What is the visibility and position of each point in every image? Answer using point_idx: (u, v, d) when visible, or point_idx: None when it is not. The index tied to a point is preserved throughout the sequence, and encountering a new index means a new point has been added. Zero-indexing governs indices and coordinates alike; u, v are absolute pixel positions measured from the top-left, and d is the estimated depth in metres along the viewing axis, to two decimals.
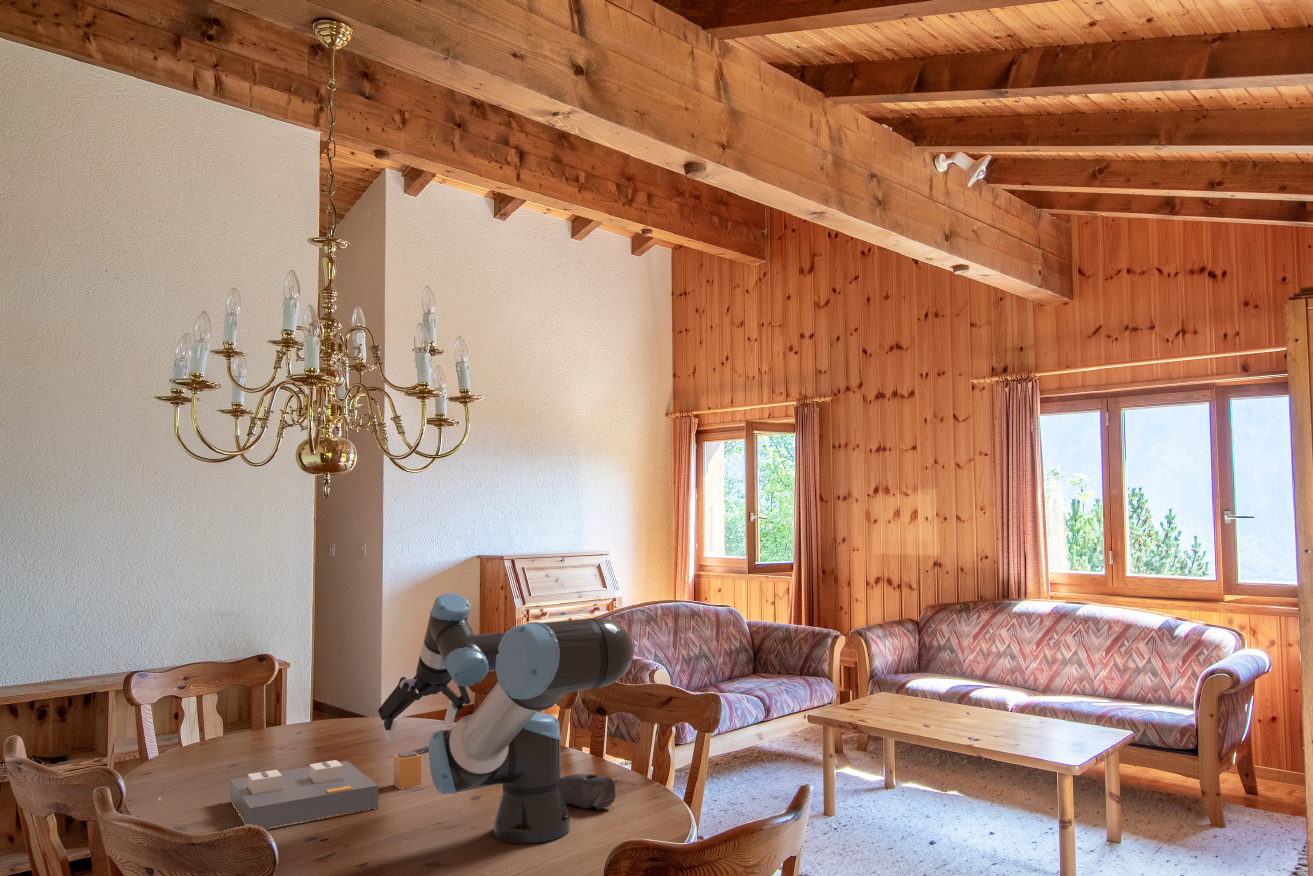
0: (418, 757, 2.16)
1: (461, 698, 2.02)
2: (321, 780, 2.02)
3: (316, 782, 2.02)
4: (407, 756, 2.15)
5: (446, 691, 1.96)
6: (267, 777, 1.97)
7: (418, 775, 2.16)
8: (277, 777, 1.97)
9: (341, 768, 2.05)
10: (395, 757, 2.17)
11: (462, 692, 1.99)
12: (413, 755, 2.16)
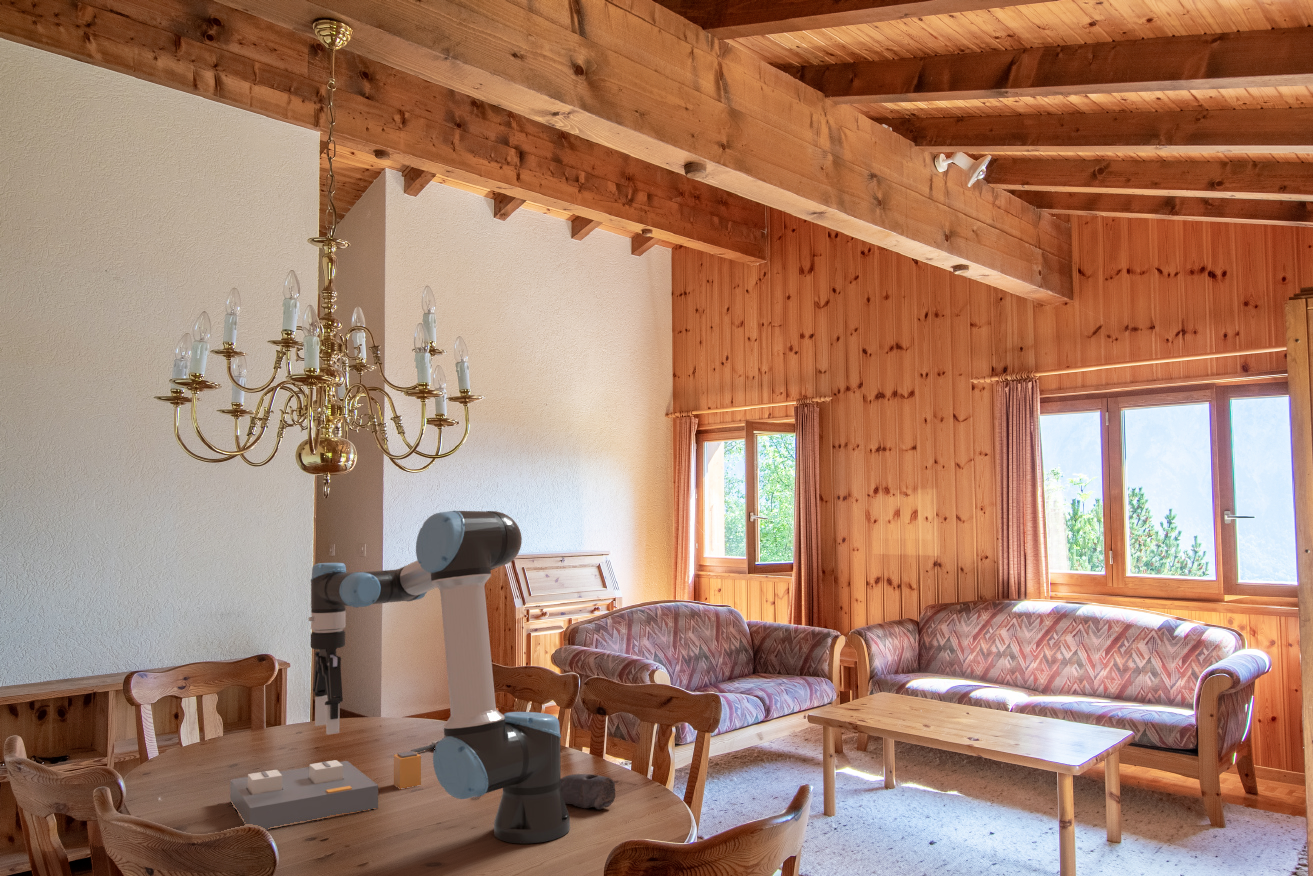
0: (418, 757, 2.16)
1: None
2: (321, 780, 2.02)
3: (316, 782, 2.02)
4: (407, 756, 2.15)
5: None
6: (267, 777, 1.97)
7: (418, 775, 2.16)
8: (277, 777, 1.97)
9: (341, 768, 2.05)
10: (395, 757, 2.17)
11: None
12: (413, 755, 2.16)
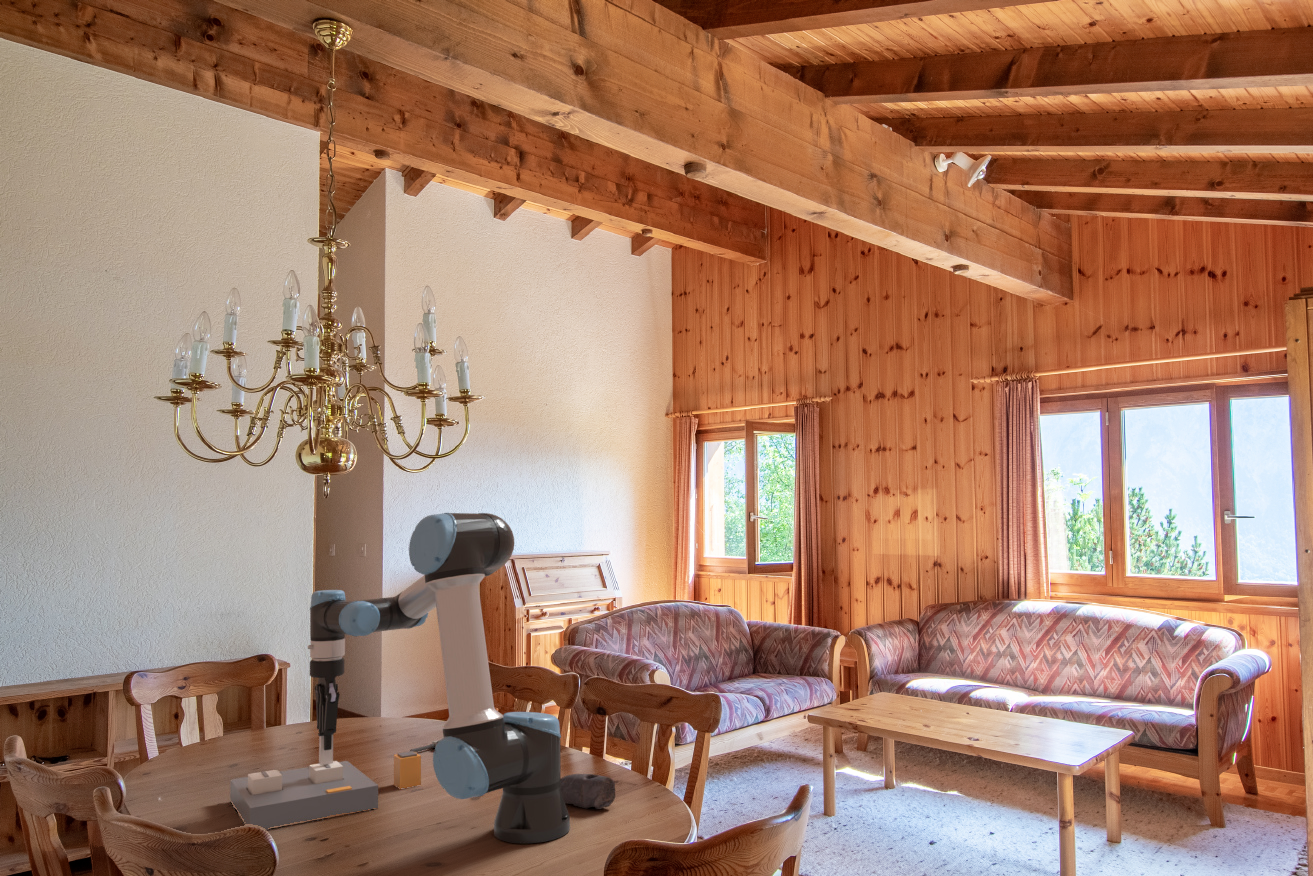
0: (418, 757, 2.16)
1: None
2: (321, 781, 2.02)
3: (316, 783, 2.02)
4: (407, 756, 2.15)
5: None
6: (267, 777, 1.97)
7: (418, 775, 2.16)
8: (277, 777, 1.97)
9: (341, 769, 2.05)
10: (395, 757, 2.17)
11: None
12: (413, 755, 2.16)
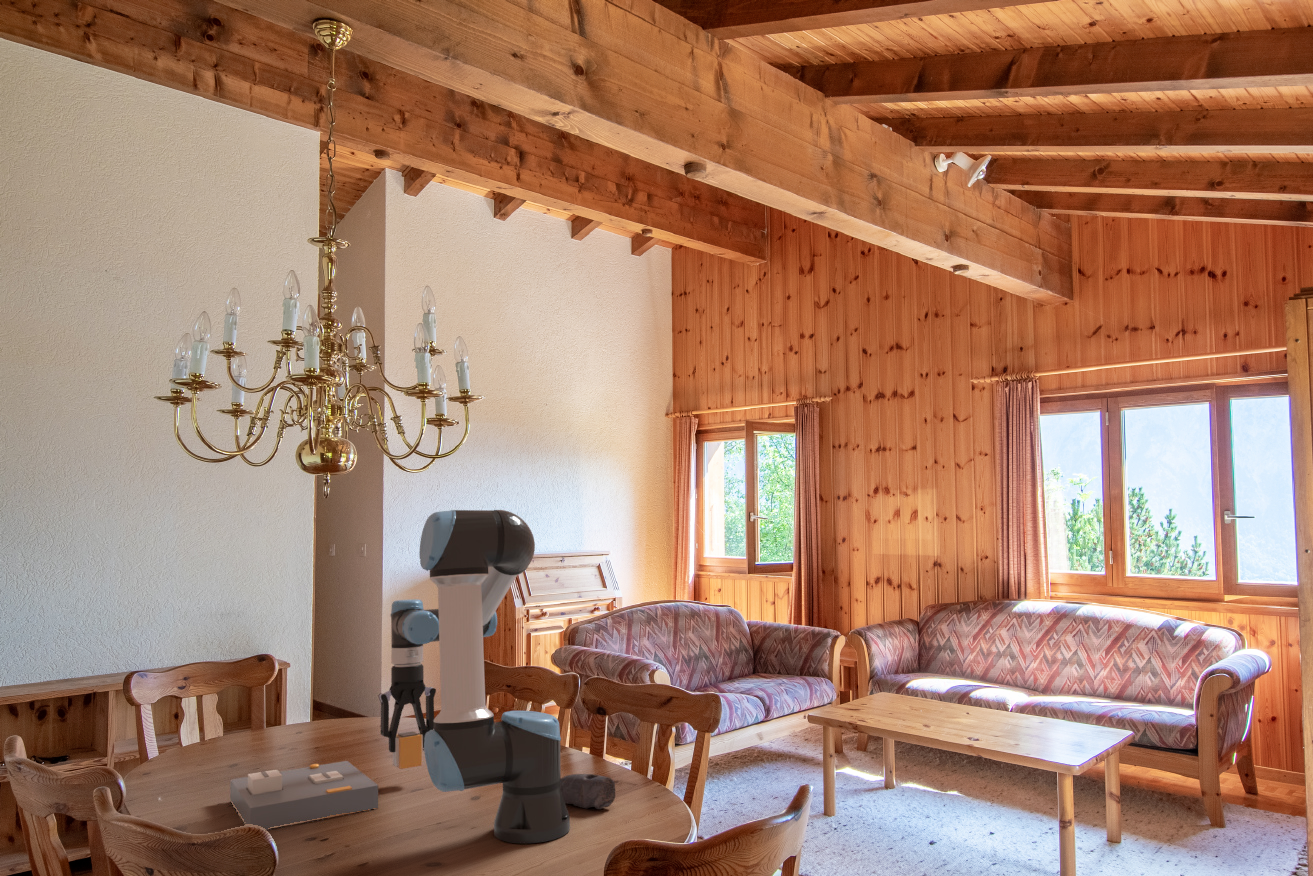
0: (419, 737, 2.16)
1: None
2: None
3: None
4: (408, 735, 2.15)
5: None
6: (267, 777, 1.97)
7: (419, 755, 2.16)
8: (277, 777, 1.97)
9: (341, 779, 2.05)
10: None
11: None
12: (414, 735, 2.16)
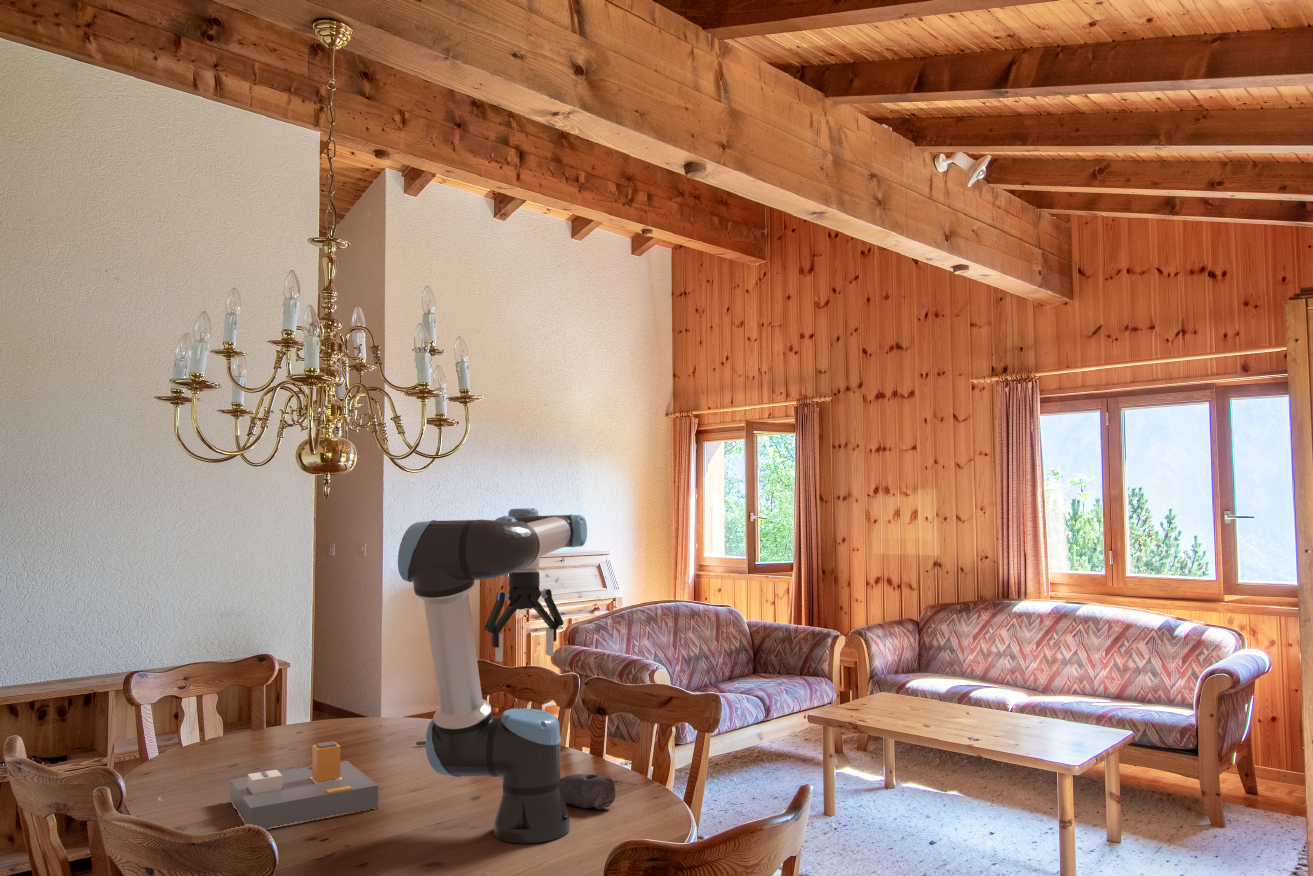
0: (337, 747, 2.05)
1: None
2: None
3: None
4: (326, 746, 2.04)
5: None
6: (267, 777, 1.97)
7: (337, 766, 2.05)
8: (277, 777, 1.97)
9: None
10: (313, 747, 2.06)
11: None
12: (332, 745, 2.05)
